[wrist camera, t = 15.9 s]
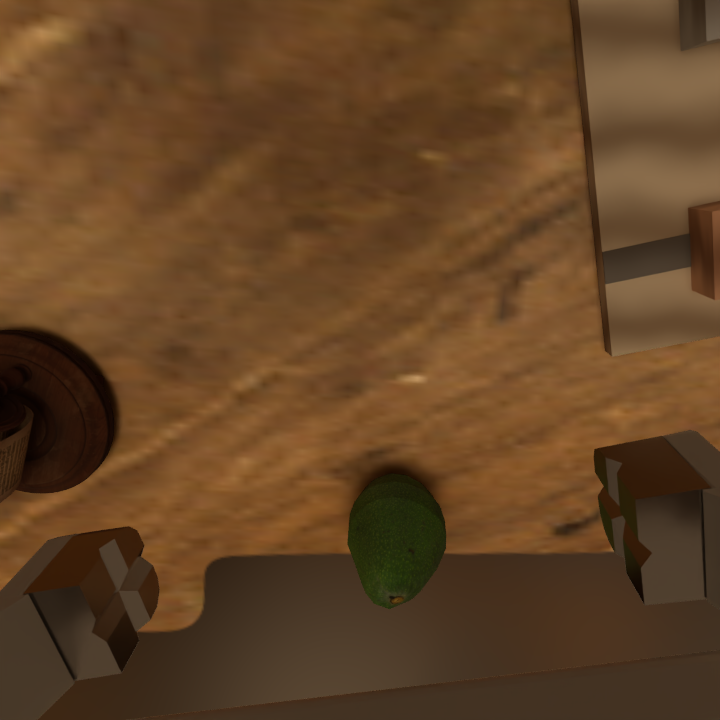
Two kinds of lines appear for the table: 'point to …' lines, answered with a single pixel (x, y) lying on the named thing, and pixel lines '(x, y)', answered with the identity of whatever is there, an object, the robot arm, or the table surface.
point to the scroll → (49, 416)
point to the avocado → (396, 538)
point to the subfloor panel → (652, 165)
